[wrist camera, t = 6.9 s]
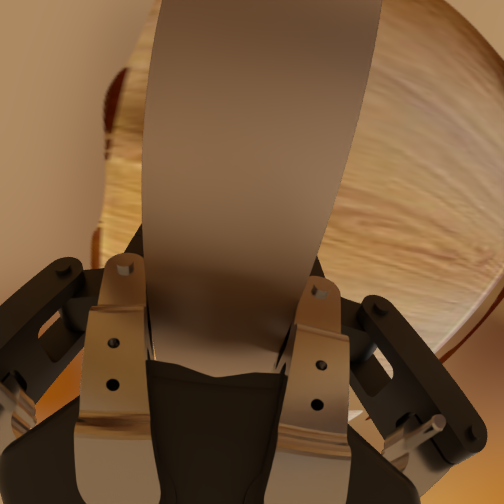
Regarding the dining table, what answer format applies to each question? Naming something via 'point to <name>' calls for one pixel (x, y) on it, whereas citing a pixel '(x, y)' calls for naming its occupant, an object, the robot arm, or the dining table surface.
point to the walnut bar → (244, 167)
